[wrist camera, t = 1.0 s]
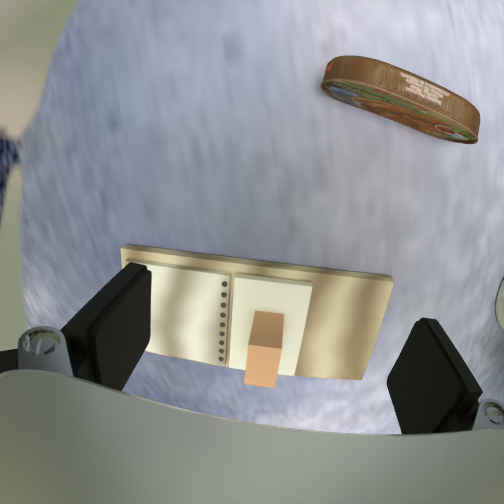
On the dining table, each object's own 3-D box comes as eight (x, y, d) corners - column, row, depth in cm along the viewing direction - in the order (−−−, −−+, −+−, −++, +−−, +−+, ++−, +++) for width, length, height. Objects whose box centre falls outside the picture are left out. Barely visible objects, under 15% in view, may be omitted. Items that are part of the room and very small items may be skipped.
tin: (315, 94, 27) (325, 79, 20) (323, 66, 26) (334, 42, 18) (449, 145, 27) (493, 151, 19) (456, 118, 26) (500, 117, 18)
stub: (311, 282, 32) (316, 318, 26) (294, 370, 37) (293, 412, 30) (236, 273, 33) (222, 307, 26) (230, 362, 37) (219, 402, 31)
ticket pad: (390, 276, 33) (396, 286, 30) (359, 372, 38) (362, 385, 35) (126, 243, 35) (116, 251, 33) (136, 341, 40) (128, 352, 38)
